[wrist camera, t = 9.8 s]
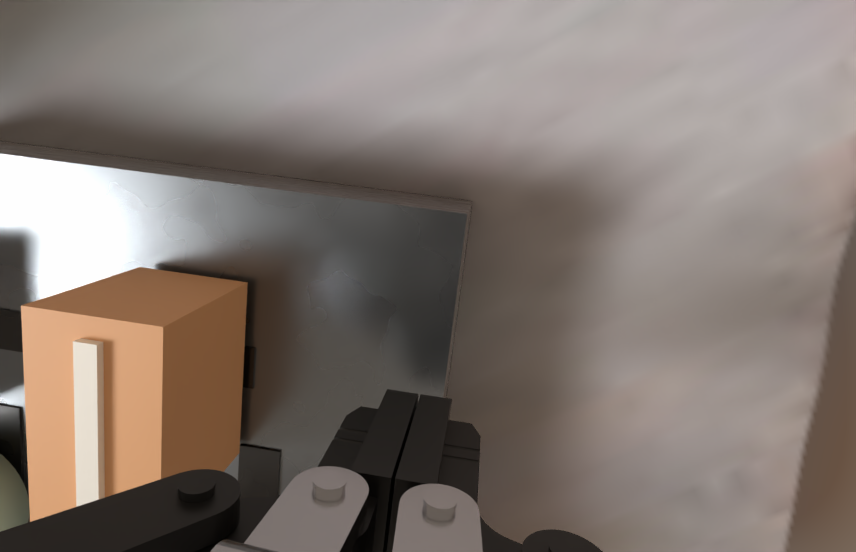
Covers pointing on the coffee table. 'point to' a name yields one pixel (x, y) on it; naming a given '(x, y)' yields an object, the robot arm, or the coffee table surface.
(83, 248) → the panel
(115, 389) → the tan box with strip
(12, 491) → the pale green dome
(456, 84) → the coffee table surface
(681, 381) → the coffee table surface
